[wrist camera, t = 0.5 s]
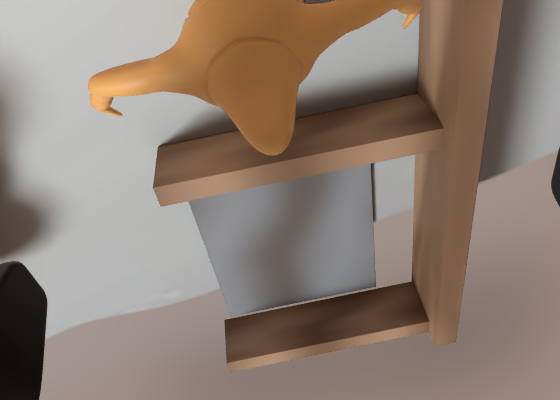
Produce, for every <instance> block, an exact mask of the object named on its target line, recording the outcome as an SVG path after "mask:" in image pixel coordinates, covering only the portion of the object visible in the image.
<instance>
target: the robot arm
mask: <svg viewBox="0 0 560 400" xmlns="http://www.w3.org/2000/svg"><path fill="white" fill-rule="evenodd" d="M551 187H552V192H553V195H554V197H555V199H556V201H557V203H558V205H559V206H560V148H559V151H558V155H557V160H556V164H555V168H554V172H553V176H552V181H551ZM46 317H47V298H46V294H45V292H44V290H43V289H42V287H41V286H40V285H39V284H38V282H37V281H36V280H35V278H34V277H33V276H32V275H31V273H30V272H29V271H28V269H27V268H26V267H25V266H24V265H23V264H22V263H21V262H19V261H11V262H6V263H2V264H0V400H39V396H40V390H41V382H42V372H43V358H44V345H45V331H46Z"/></svg>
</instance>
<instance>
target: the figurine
mask: <svg viewBox="0 0 560 400" xmlns="http://www.w3.org/2000/svg"><path fill="white" fill-rule="evenodd" d="M423 3H424V1H423V0H334V1H331V2H327V3H319V4H304V2H303V0H195V1H194V3H193V4H192V6H191V8H190V10H189V12H188V15H189V17H188V18H186V19H185V22H184V25H183V28H182V31H181V34H180V37H179V39H178V41H177V42H176V44H175V45H174V46H173V47H172V48H170V49H169V50H167V51H165V52H164V53H162V54H160V55H158V56H156V57H154V58H150V59H145V60H140V61H136V62H132V63H128V64H124V65H121V66H117V67H114V68H110V69H108V70H105V71H102V72H100V73H98V74H96V75H94V76H93V77H91V78H90V80H89V83H88V87H89V90H90V92H91V94H90V103H91V105H92V107H93V108H94V109H96V110H98V111H101V112H104V113H108V114H113V115H117V116H122V114H121V113H120V112H118V111H117V110H115V109H113V108H111V107H110V105H111V103H112V100H113V97H116V96H134V95H144V94H149V93H154V92H175V93H183V94H189V95H193V96H195V97H198V98H200V99H202V100H204V101H206V102H208V103H210V104H213V105H216V106H219V107H221V108H222V109H223V110H224V111H225V112H226V113H227V115H228V116H229V117H230V118H231V120H232V121H233V122H234V123H235V125H236V126H237V128H238V129H239V130H240V132H241V133H242V134H243V136H244V137H245V138H246V140H247V141H248V142H249V143H250V144H251V145H252V146H253V147H254V148H255V149H257V150H258V151H260V152H261V153H263V154H266V155H278V154H280V153H282V152H283V151H284V150H285V149H286V148H287V146H288V145H289V143H290V140H291V138H292V134H293V130H294V123H295V112H296V101H297V92H298V87H299V84H300V83H301V82H302V81H303V80H304V79H305V78H306V77H307V75H308V74H309V72H310V70H311V68H312V66H313V64H314V62H315V61H316V59H317V58H318V56H319V55H320V54H321V53H322V52H323V51H324V50H325V49H326V48H328V47H329V46H330V45H331V44H332V43H334V42H335V41H336V40H337V39H339V38H340V37H341V36H343V35H344V34H346V33H348V32H350V31H353V30H355V29H358V28H360V27H362V26H364V25H366V24H368V23H370V22H372V21H373V20H375V19H377V18H379V17H381V16H382V15H384V14H385V13H387V12H389V11H390V10H392V9H397V10H398V11H400V12H401V13H404V14H408V16H407V18H406V20H405V22H404V24H403V27H402V28H403V29H405V28H406V27H407V26H408V24H409V23H410V22H411V21H412V20H413V19H414V18H415V17H416V16H417V15H418V14H419V12H420V11H421V9H422V7H423Z"/></svg>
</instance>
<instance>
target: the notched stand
mask: <svg viewBox="0 0 560 400" xmlns="http://www.w3.org/2000/svg"><path fill="white" fill-rule="evenodd" d="M423 1H424V3H423V7H422V9H421V11H420V23H419V57H418V90H417V94H413V95H408V96H404V97H399V98H394V99H389V100H384V101H379V102H374V103H369V104H365V105H360V106H355V107H350V108H345V109H340V110H335V111H331V112H326V113H321V114H316V115H311V116H306V117H301V118H297V119H295V123H294V130H293V134H292V138H291V140H290V143H289V145H288V146H287V148H286V149H285V150H284V151H283V152H282V153H280V154H278V155H266V154H263V153H261V152H260V151H258V150H257V149H255V148H254V147H253V146H252V145H251V144H250V143H249V142H248V141H247V140H246V138H245V137H244V136H243V134H242V133H241V132H240V130H238V131H233V132H229V133H224V134H219V135H214V136H209V137H204V138H199V139H195V140H190V141H185V142H180V143H175V144H170V145H165V146H160V147H158V151H157V159H156V167H155V176H154V184H153V189H154V191H155V194H156V196H157V199H158V201H159V203H160V206H161V207H162V206H166V205H171V204H176V203H181V202H186V201H189V204H190V206H191V209H192V212H193V214H194V217H195V220H196V223H197V225H198V228H199V231H200V234H201V236H202V239H203V242H204V244H205V247H206V250H207V253H208V255H209V258H210V261H211V263H212V266H213V269H214V272H215V274H216V277H217V280H218V282H219V285H220V288H221V291H222V293H223V296H224V299H225V301H226V304H227V307H228V310H229V312H230V315H231V316H234V315H239V314H244V313H249V312H253V311H259V310H264V309H269V308H273V307H278V306H282V305H288V304H293V303H298V302H302V301H307V300H312V299H317V298H322V297H327V296H332V295H336V294H341V293H346V292H351V291H356V290H361V289H366V288H371V287H376V277H375V254H374V234H373V233H374V232H373V208H372V186H371V163H376V162H380V161H385V160H390V159H395V158H400V157H405V156H410V155H414V154H416V156H415V189H414V223H413V256H412V259H413V260H412V282H408V283H403V284H398V285H393V286H388V287H383V288H378V289H374V290H368V291H364V292H359V293H354V294H349V295H344V296H339V297H335V298H330V299H325V300H320V301H315V302H310V303H306V304H301V305H296V306H291V307H286V308H281V309H276V310H271V311H267V312H261V313H257V314H252V315H247V316H242V317H237V318H233V319H227V320H225V338H226V356H227V365H228V367H229V370H230V372H235V371H239V370H244V369H249V368H253V367H259V366H264V365H268V364H273V363H278V362H283V361H288V360H293V359H298V358H302V357H307V356H312V355H317V354H322V353H327V352H332V351H337V350H341V349H346V348H351V347H356V346H361V345H366V344H370V343H375V342H381V341H385V340H390V339H395V338H400V337H405V336H410V335H415V334H419V333H424V332H429V333H430V336H431V338H432V340H433V342H434V344H435V346H439V345H444V344H449V343H454V342H456V338H457V330H458V323H459V316H460V309H461V302H462V294H463V287H464V280H465V273H466V265H467V258H468V251H469V244H470V237H471V229H472V221H473V215H474V208H475V200H476V193H477V186H478V179H479V171H480V164H481V157H482V150H483V143H484V135H485V128H486V121H487V114H488V106H489V99H490V92H491V85H492V77H493V70H494V63H495V56H496V49H497V41H498V34H499V27H500V20H501V12H502V5H503V0H423Z"/></svg>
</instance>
